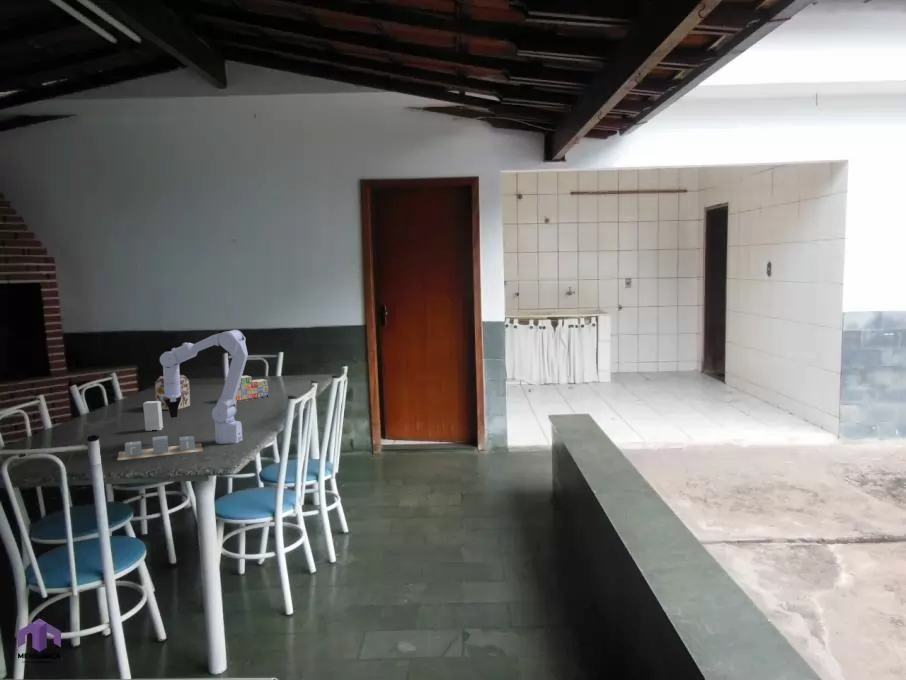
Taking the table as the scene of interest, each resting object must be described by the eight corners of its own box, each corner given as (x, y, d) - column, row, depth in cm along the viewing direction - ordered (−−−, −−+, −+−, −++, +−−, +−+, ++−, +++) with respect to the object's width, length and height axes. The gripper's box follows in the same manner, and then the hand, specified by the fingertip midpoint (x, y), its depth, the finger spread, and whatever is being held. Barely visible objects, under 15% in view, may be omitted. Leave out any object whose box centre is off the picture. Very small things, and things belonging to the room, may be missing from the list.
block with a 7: (141, 451, 239) (140, 440, 238) (141, 455, 234) (140, 444, 234) (126, 453, 237) (125, 442, 236) (125, 457, 232) (124, 445, 232)
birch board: (201, 445, 250) (201, 443, 250) (202, 453, 239) (202, 450, 239) (119, 454, 239) (119, 451, 239) (117, 463, 228) (116, 460, 228)
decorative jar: (177, 410, 317) (175, 373, 315) (155, 410, 319) (153, 373, 317) (191, 405, 328) (189, 370, 326) (170, 405, 330) (168, 369, 329)
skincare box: (163, 428, 280) (161, 400, 278) (159, 430, 275) (158, 402, 274) (148, 428, 279) (146, 400, 278) (144, 431, 274) (142, 402, 273)
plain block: (168, 448, 242) (167, 435, 242) (168, 452, 238) (167, 438, 237) (153, 450, 240) (152, 437, 240) (153, 453, 236) (152, 440, 235)
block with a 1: (194, 446, 246) (193, 435, 245) (195, 449, 241) (194, 438, 241) (180, 447, 244) (179, 437, 243) (180, 451, 239) (179, 440, 239)
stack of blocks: (263, 395, 354) (262, 373, 353) (268, 397, 350) (267, 374, 348) (225, 401, 339) (224, 377, 338) (230, 403, 335) (229, 379, 334)
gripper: (160, 380, 257) (162, 414, 258) (160, 386, 243) (162, 421, 245) (180, 379, 259) (181, 412, 261) (181, 384, 246) (182, 420, 248)
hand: (173, 417), depth 253 cm, fingers closed
